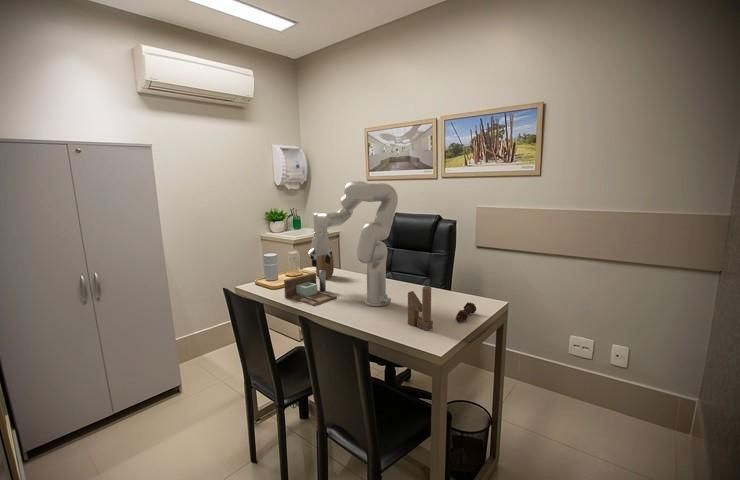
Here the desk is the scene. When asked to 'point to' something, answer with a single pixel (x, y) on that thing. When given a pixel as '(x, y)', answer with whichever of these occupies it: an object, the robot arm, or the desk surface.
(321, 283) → the peg
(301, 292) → the teal square socket
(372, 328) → the desk surface
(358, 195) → the robot arm
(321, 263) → the brown tall rounded block
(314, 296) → the backstop board
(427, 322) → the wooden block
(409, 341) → the desk surface
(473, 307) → the dumbbell
